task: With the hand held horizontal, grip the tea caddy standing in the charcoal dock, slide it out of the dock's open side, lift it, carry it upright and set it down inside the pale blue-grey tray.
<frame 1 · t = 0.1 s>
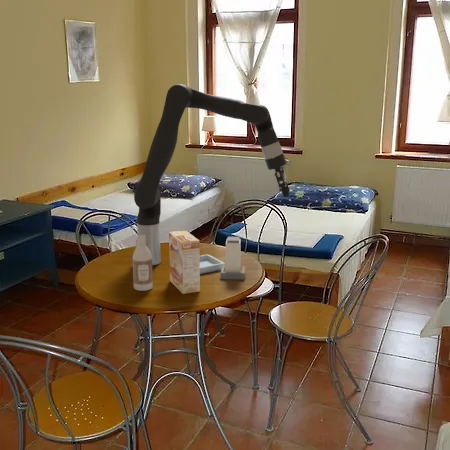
hand: (287, 194, 214), 31 cm above the table, tool tilted 20°, fingers open, 8 cm apart
tray: (201, 267, 225), on the table
bath foam: (143, 288, 202), on the table
dock: (233, 275, 216), on the table
coffeecake box: (184, 286, 204), on the table
tea caddy: (233, 257, 214), in the dock
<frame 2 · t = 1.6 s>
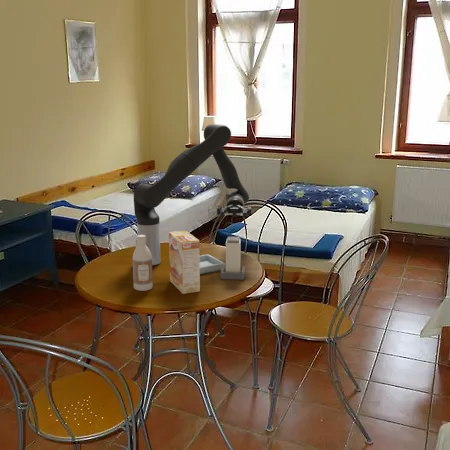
hand: (233, 214, 221), 22 cm above the table, tool horizontal, fingers open, 8 cm apart
nothing on the table moved.
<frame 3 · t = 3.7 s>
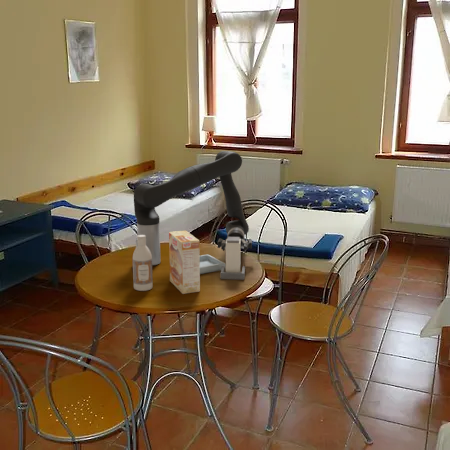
hand: (234, 248, 222), 9 cm above the table, tool horizontal, fingers open, 8 cm apart
nothing on the table moved.
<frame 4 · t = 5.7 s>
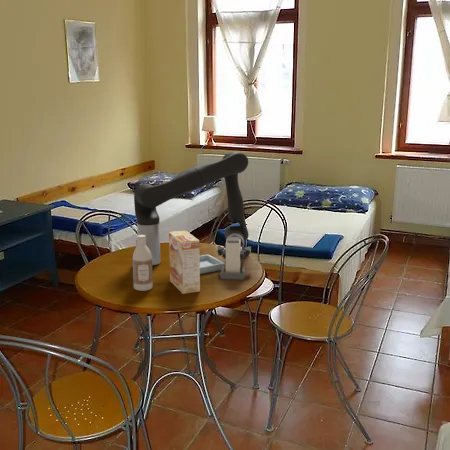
hand: (232, 256, 211), 9 cm above the table, tool horizontal, fingers closed on tea caddy, 5 cm apart
tea caddy: (233, 257, 214), in the dock, touching gripper
everything else where it was.
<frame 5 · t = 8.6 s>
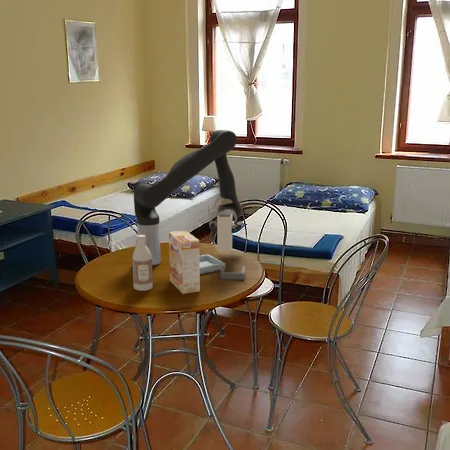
hand: (224, 230, 214), 18 cm above the table, tool horizontal, fingers closed on tea caddy, 5 cm apart
tea caddy: (224, 231, 216), point 17 cm above the table, touching gripper
everything else where it was.
when the fingers open (10 cm above the table, at t = 11.1 s): tea caddy stays where it is, resting on tray.
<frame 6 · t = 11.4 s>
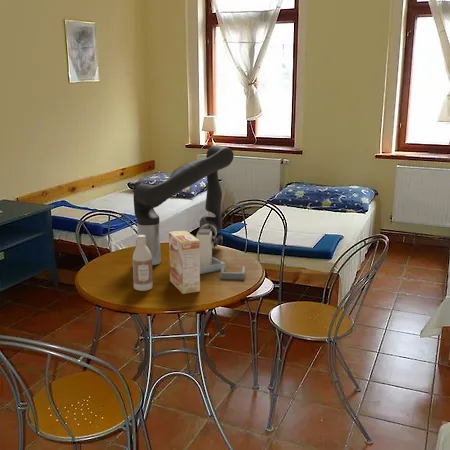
hand: (203, 244, 220), 10 cm above the table, tool horizontal, fingers open, 8 cm apart
tea caddy: (204, 248, 223), in the tray, point 8 cm above the table
everything else where it was.
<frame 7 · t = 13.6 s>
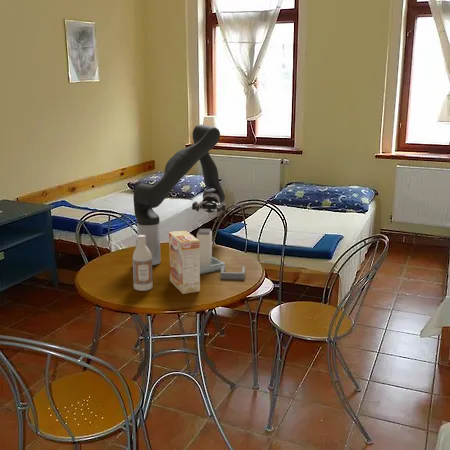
hand: (207, 209, 230), 22 cm above the table, tool horizontal, fingers open, 8 cm apart
nothing on the table moved.
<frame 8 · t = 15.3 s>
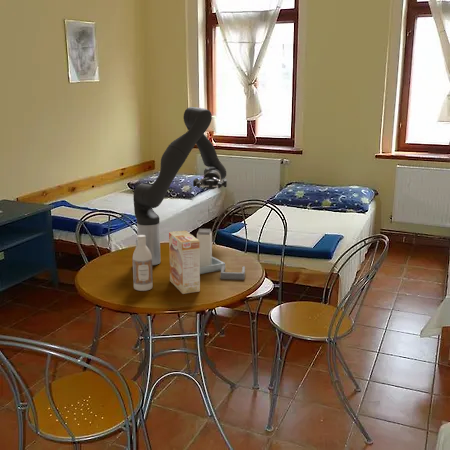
hand: (208, 185, 227), 32 cm above the table, tool horizontal, fingers open, 8 cm apart
nothing on the table moved.
at the end: tea caddy inside the target area on the tray (1.2 cm from its centre), point 8.1 cm above the tray's base; tea caddy tilted 0°; the gripper is holding nothing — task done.
